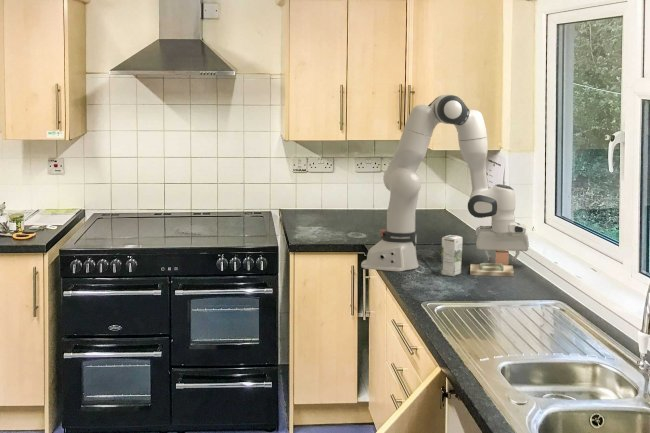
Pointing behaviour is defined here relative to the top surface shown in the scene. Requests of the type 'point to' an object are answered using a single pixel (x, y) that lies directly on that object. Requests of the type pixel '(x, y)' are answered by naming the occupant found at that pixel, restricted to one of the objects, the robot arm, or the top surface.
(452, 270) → the syrup box
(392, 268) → the robot arm
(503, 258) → the block
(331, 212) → the top surface
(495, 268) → the build board
